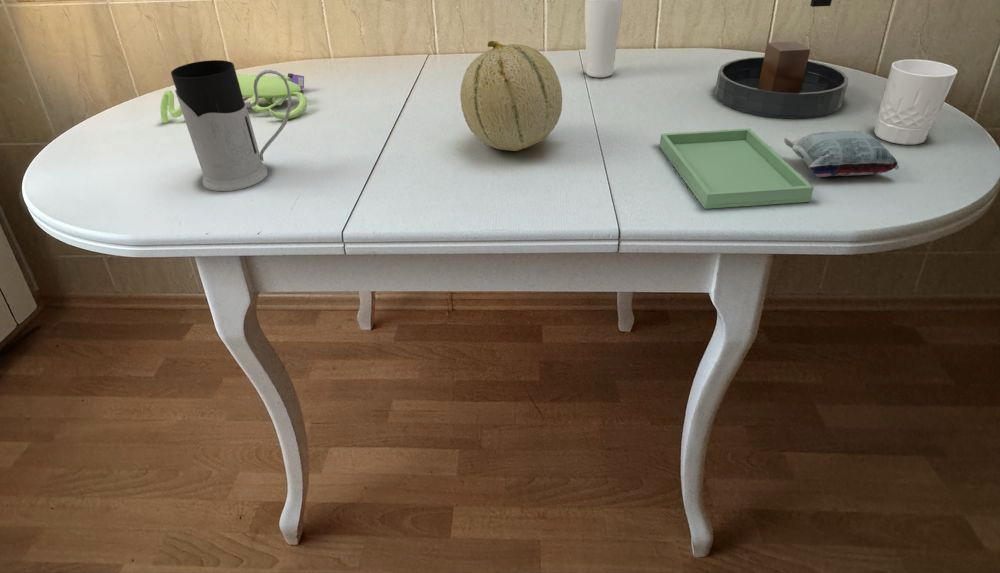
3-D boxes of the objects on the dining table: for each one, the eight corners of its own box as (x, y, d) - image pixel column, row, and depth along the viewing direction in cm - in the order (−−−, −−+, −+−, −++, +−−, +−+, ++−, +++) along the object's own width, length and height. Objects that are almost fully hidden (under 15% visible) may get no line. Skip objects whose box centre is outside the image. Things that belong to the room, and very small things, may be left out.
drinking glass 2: (574, 74, 120) (577, -10, 111) (597, 66, 124) (601, -16, 115) (601, 82, 116) (607, -5, 107) (624, 73, 120) (631, -11, 111)
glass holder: (202, 170, 89) (167, 64, 81) (303, 153, 93) (279, 50, 85) (202, 196, 83) (163, 83, 74) (310, 176, 87) (285, 67, 78)
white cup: (904, 150, 88) (930, 79, 82) (857, 132, 93) (879, 64, 88) (942, 140, 90) (971, 70, 84) (894, 122, 96) (918, 56, 90)
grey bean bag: (779, 156, 87) (788, 122, 84) (864, 154, 87) (876, 120, 84) (804, 185, 80) (815, 149, 77) (897, 182, 80) (911, 147, 77)
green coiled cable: (194, 88, 120) (184, 59, 117) (329, 86, 119) (323, 56, 116) (145, 124, 105) (133, 91, 102) (299, 122, 104) (291, 88, 101)
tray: (659, 146, 91) (661, 133, 90) (746, 141, 92) (749, 128, 91) (704, 209, 76) (707, 194, 75) (809, 202, 76) (814, 187, 75)
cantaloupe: (555, 169, 86) (558, 58, 77) (453, 164, 88) (444, 56, 80) (566, 129, 98) (569, 29, 89) (475, 126, 100) (469, 28, 91)
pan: (805, 76, 115) (811, 54, 113) (866, 114, 99) (874, 89, 97) (698, 82, 114) (702, 60, 112) (742, 122, 98) (747, 97, 96)
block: (784, 88, 109) (796, 41, 104) (798, 98, 104) (810, 49, 100) (756, 90, 108) (767, 42, 104) (769, 100, 104) (780, 51, 100)
